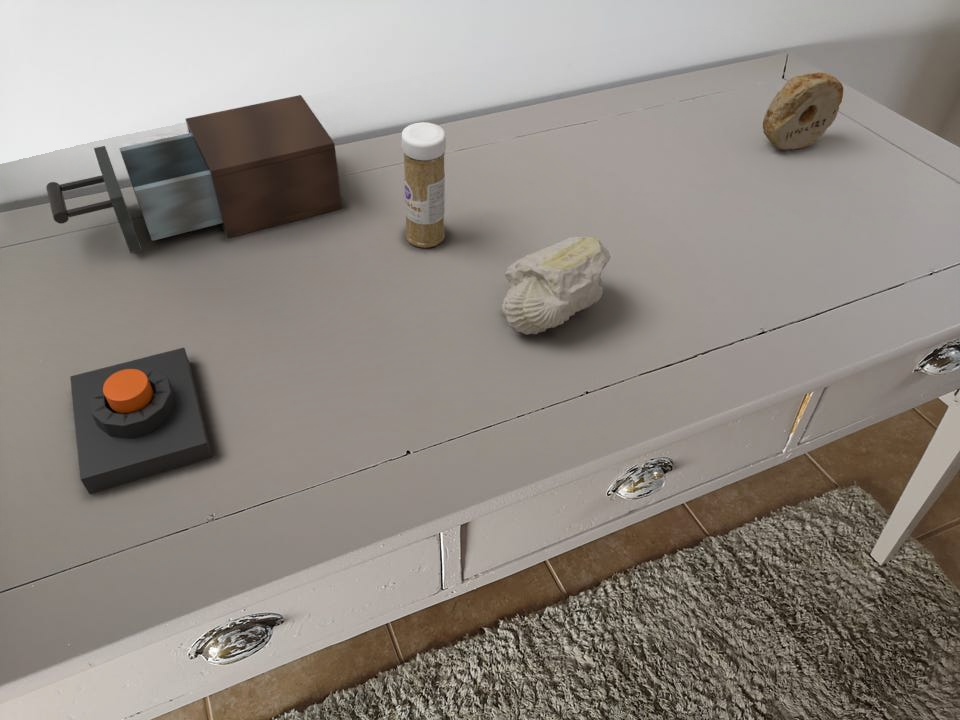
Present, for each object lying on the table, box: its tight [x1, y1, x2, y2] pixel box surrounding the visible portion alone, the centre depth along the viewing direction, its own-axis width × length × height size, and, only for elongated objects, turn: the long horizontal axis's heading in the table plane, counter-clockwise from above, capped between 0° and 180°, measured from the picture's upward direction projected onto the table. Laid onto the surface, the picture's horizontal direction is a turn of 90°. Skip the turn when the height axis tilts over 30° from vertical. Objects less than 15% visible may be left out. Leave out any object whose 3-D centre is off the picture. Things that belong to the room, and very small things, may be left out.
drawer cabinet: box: [185, 94, 343, 239], centre depth 90 cm, size 14×12×9 cm
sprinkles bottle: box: [400, 121, 447, 249], centre depth 84 cm, size 5×5×13 cm
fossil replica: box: [501, 236, 611, 335], centre depth 78 cm, size 12×8×10 cm
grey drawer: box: [45, 132, 223, 254], centre depth 85 cm, size 18×10×7 cm, turn 117°
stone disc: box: [762, 72, 844, 151], centre depth 102 cm, size 10×4×10 cm, turn 111°
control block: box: [69, 347, 213, 494], centre depth 68 cm, size 12×10×4 cm
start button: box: [103, 369, 153, 413], centre depth 66 cm, size 4×4×2 cm
